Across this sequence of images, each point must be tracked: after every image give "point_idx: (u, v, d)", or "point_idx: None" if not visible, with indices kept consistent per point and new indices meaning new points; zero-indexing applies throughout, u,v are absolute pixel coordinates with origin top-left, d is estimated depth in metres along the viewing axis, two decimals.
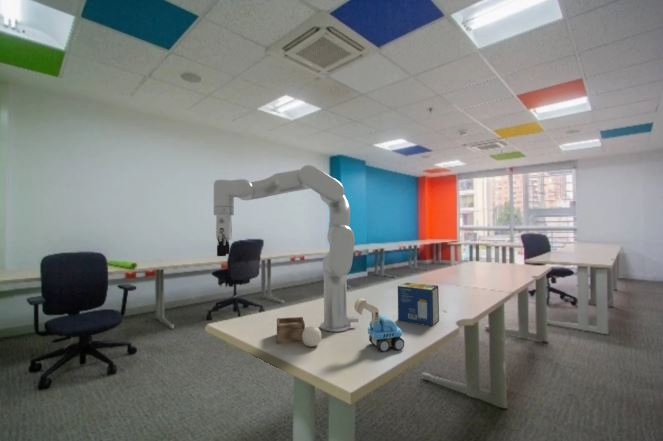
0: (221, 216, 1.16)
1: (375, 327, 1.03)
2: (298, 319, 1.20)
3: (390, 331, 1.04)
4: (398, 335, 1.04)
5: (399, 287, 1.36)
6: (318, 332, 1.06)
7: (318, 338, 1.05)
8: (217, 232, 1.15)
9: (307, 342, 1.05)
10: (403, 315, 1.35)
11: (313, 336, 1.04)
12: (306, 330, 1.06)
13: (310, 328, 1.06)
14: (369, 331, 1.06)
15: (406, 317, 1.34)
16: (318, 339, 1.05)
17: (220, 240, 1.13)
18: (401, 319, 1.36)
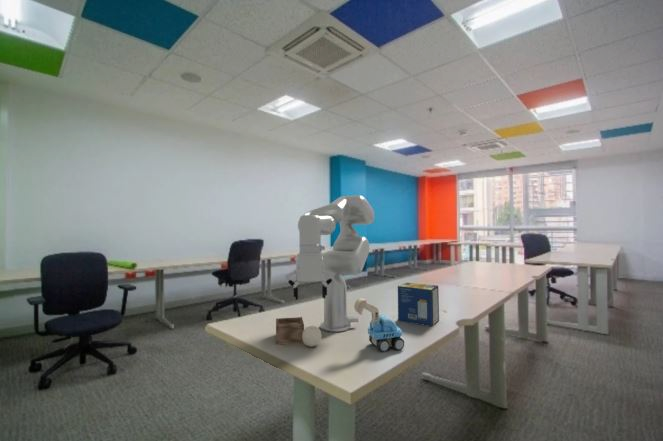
0: (322, 255, 1.09)
1: (375, 327, 1.03)
2: (297, 319, 1.20)
3: (390, 331, 1.04)
4: (398, 335, 1.04)
5: (399, 287, 1.36)
6: (318, 332, 1.06)
7: (318, 338, 1.05)
8: (324, 273, 1.08)
9: (307, 342, 1.05)
10: (403, 315, 1.35)
11: (313, 336, 1.04)
12: (306, 330, 1.06)
13: (310, 328, 1.06)
14: (369, 331, 1.06)
15: (406, 317, 1.34)
16: (318, 339, 1.05)
17: None
18: (401, 319, 1.36)
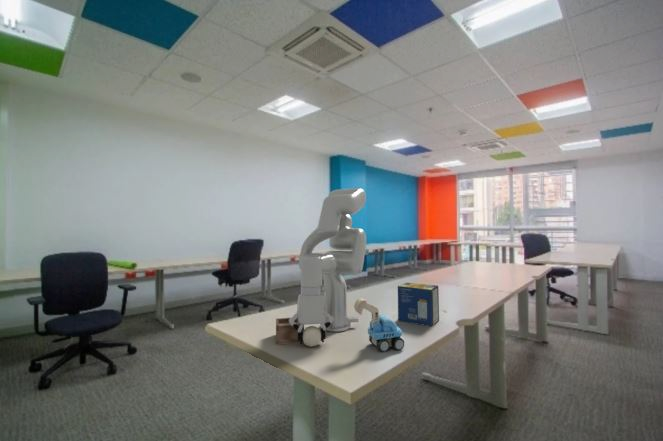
0: (324, 296, 1.09)
1: (375, 327, 1.03)
2: None
3: (390, 331, 1.04)
4: (398, 335, 1.04)
5: (399, 287, 1.36)
6: (318, 332, 1.06)
7: (318, 338, 1.05)
8: (326, 314, 1.07)
9: (307, 342, 1.05)
10: (403, 315, 1.35)
11: (313, 336, 1.04)
12: (306, 330, 1.06)
13: (310, 328, 1.06)
14: (369, 331, 1.06)
15: (406, 317, 1.34)
16: (318, 339, 1.05)
17: None
18: (401, 319, 1.36)
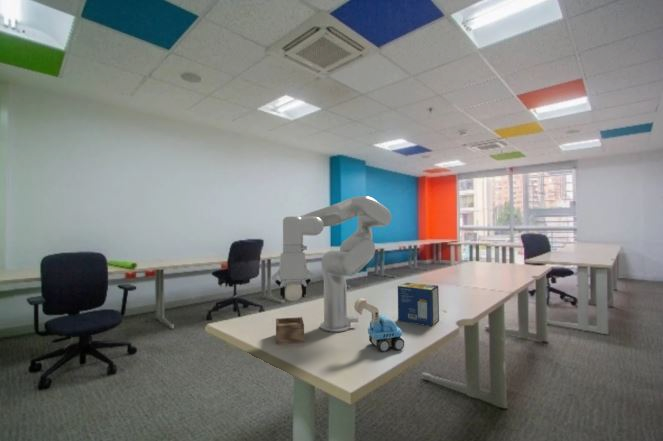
0: None
1: (375, 327, 1.03)
2: (297, 319, 1.20)
3: (390, 331, 1.04)
4: (398, 335, 1.04)
5: (399, 287, 1.36)
6: (299, 287, 1.13)
7: (299, 293, 1.12)
8: (306, 271, 1.15)
9: (289, 296, 1.11)
10: (403, 315, 1.35)
11: (295, 290, 1.11)
12: (288, 285, 1.13)
13: (292, 284, 1.13)
14: (369, 331, 1.06)
15: (406, 317, 1.34)
16: (299, 293, 1.12)
17: None
18: (401, 319, 1.36)
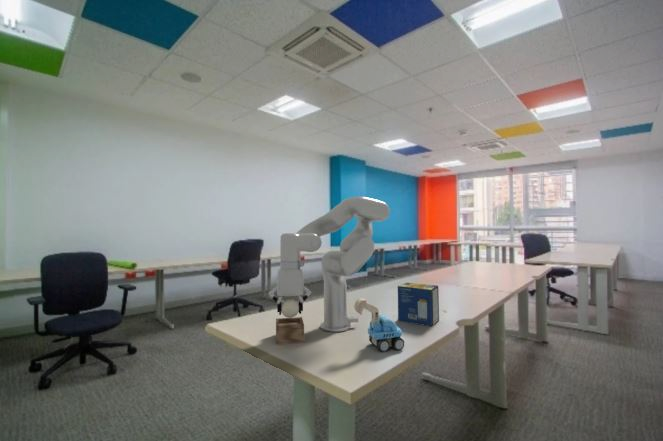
0: None
1: (375, 327, 1.03)
2: (297, 319, 1.20)
3: (390, 331, 1.04)
4: (398, 335, 1.04)
5: (399, 287, 1.36)
6: (296, 304, 1.14)
7: (296, 309, 1.13)
8: (303, 288, 1.15)
9: (285, 313, 1.12)
10: (403, 315, 1.35)
11: (291, 307, 1.12)
12: (285, 302, 1.14)
13: (288, 300, 1.14)
14: (369, 331, 1.06)
15: (406, 317, 1.34)
16: (296, 310, 1.13)
17: None
18: (401, 319, 1.36)
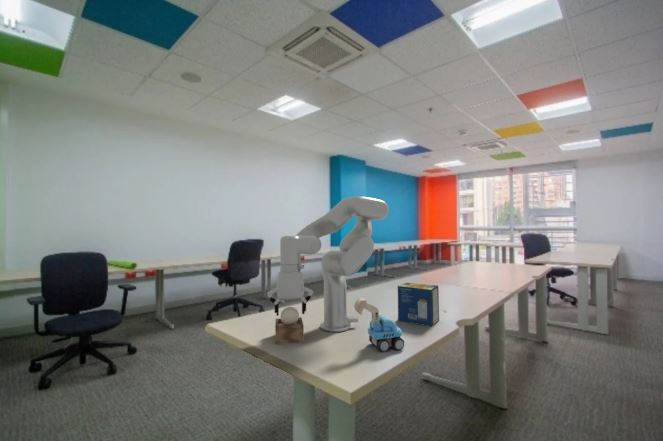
0: None
1: (375, 327, 1.03)
2: None
3: (390, 331, 1.04)
4: (398, 335, 1.04)
5: (399, 287, 1.36)
6: (295, 312, 1.14)
7: (295, 317, 1.13)
8: (303, 290, 1.15)
9: (285, 321, 1.12)
10: (403, 315, 1.35)
11: (291, 315, 1.12)
12: (284, 311, 1.14)
13: (288, 309, 1.14)
14: (369, 331, 1.06)
15: (406, 317, 1.34)
16: (295, 318, 1.13)
17: None
18: (401, 319, 1.36)
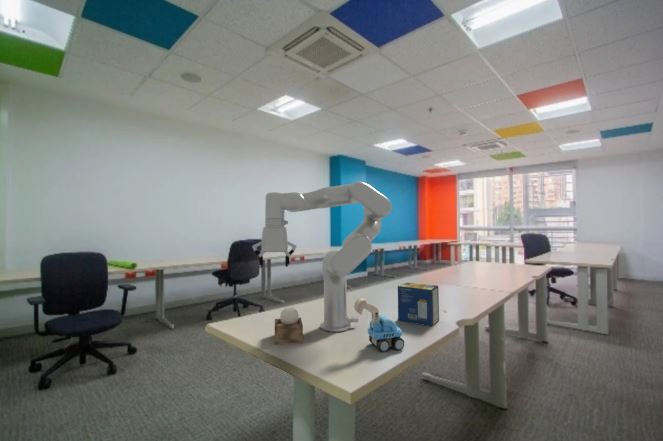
0: None
1: (375, 327, 1.03)
2: None
3: (390, 331, 1.04)
4: (398, 335, 1.04)
5: (399, 287, 1.36)
6: (296, 313, 1.14)
7: (296, 318, 1.13)
8: (287, 244, 1.22)
9: (285, 322, 1.12)
10: (403, 315, 1.35)
11: (292, 316, 1.12)
12: (285, 311, 1.13)
13: (288, 309, 1.14)
14: (369, 331, 1.06)
15: (406, 317, 1.34)
16: (296, 319, 1.13)
17: (293, 251, 1.24)
18: (401, 319, 1.36)
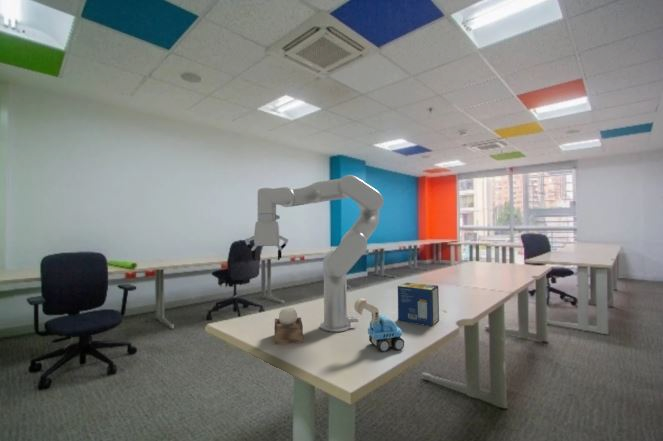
0: None
1: (375, 327, 1.03)
2: None
3: (390, 331, 1.04)
4: (398, 335, 1.04)
5: (399, 287, 1.36)
6: (295, 312, 1.14)
7: (296, 318, 1.13)
8: (279, 238, 1.25)
9: (286, 323, 1.11)
10: (403, 315, 1.35)
11: (292, 316, 1.12)
12: (284, 312, 1.12)
13: (287, 309, 1.13)
14: (369, 331, 1.06)
15: (406, 317, 1.34)
16: (296, 318, 1.13)
17: (285, 245, 1.27)
18: (401, 319, 1.36)
